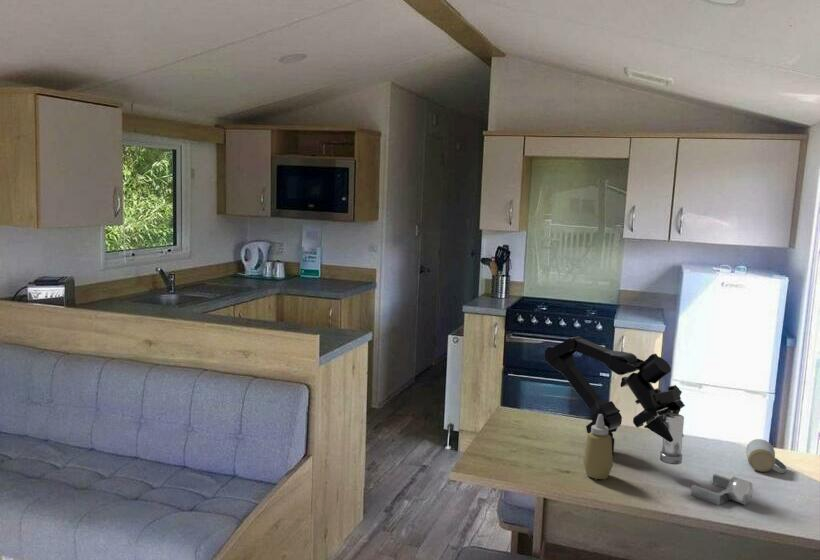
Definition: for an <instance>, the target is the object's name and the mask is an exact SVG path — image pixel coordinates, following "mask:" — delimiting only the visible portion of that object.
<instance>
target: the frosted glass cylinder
mask: <svg viewBox="0 0 820 560" xmlns="http://www.w3.org/2000/svg"><path fill="white" fill-rule="evenodd" d="M663 419H664V424H665V426H666V428H667V429H668V431H669V433H670V434H671V436H672V438H673V441H672V442H669V441H667V440H666V439H664V438H663V437H662V440H661V450H660V452H659V460H660V461H661V462H662V463H665V464H668V465H674V466H675V465H681V464H682V462H683V453H682V448H683V438H684V436H683V435H684V423H685V416H683V415H682V414H680V413H679V414H675V413H666V414H664V418H663Z"/></svg>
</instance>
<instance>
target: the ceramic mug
mask: <svg viewBox="0 0 820 560" xmlns="http://www.w3.org/2000/svg"><path fill="white" fill-rule="evenodd" d="M745 449H746V450H745V453H746V459H747V462H748V464H749V466H750V468H752V469H753V470H754V471H757V472H761V473H766V472H768V471H770V470H773V471H775V472H778V473H779V474H784V473H785V472H786V471H787V469H788V468H787V466H786V465H785V464H784V463H783V462H782V461H781V460H779V459H778V458H777V457H776V452H775V451H776V450H775V449H774V446H773V445H772V444H771V443H770V442H769V441H768V440H765V439H761V438H756V439H753V440H751V441H749V442H748V444H747V445H746V448H745Z"/></svg>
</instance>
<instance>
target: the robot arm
mask: <svg viewBox="0 0 820 560" xmlns="http://www.w3.org/2000/svg"><path fill="white" fill-rule="evenodd" d="M575 353H580V354H581V355H583V356H585V357H586V356H587V357H589V358H591V359H593V360H596V361H598V362H600V363H602V364H604V365H605V366H606V368H608V369H609V370H610V371H612V372H613V373H615V374H617V375H619V376H622V375H623V377H621V382H620V385H619V386H620V387H621V388H623V387H627V386H628V388H629V390H630V391H631V392H632V394H633V396H634V397H635V399H636V400H635V401H634V402H635V404H636V405H639V404H640V405H641V407H642V408H643V410H642V411H641V412H639V413H638V414H637V415H635V416H634V417H633V419H632V423H633V424H634V426H635V427H636V428H637V429H638V428H640V427H643V428H644V429H647V430H649V431H651V432H653V433H655V434H656V435H658V436H659V437H661V438H662V439H663V438H664V439H666V440H667V441H669V442H672V441H673V438H672V436H671V434H670V433H669V431H668V429H667V428H666V426H665V424H664V414H666V413H675V414H679V415H680V412H681V410H682V408H684V407H686V405H685V403H684V402H683V401H682V397H681V394H682V393H683V392H682V390H680V388H679V387H678V386H677V384H674V385H671V386H668V387H667V390H666V391H662V390H661V389H660V388H658V387H657V388H654V386H653V384H657V383H658V382H660V381H661V380H662V379H663V378H664V377H666V376H668V375H669V374H670V373H671V371H672V370H671V369H672V368H671V366H670V364H669V362H668V361H667V360H665V359H664V358H663V357H660V356H658V354H657V353H652V354H651V355H649V356H648V358H647V359H645V360H642V359H640V358H638V356H636V355H635V354H633V353H631V352H626V351H619V350H611V349H609V348H607V347H605V346H601V345H599V344H597V343H594V342H592V341H590V340H587V339H585V338H583V337H582V336H578V335H577V336H572V337H569V338H568V339H566V340H564V341H563V342H560V343H557V345H552V346H549V347H547V348H546V349H545V350H544V357H543V358H544V360H545V361H546V363H547V364H549V365H550V367H551V368H553V369H554V370H556V371H558V372H559V373H561V375H562V376H564V378H565V379H566V381H567V382H568V383H569V384H570V385H571V387H572V388H573V390H574V391H575V392H576V394H578V395H577V396H579V397H580V399H581V400H582V401H583V403H584V404H585V405H586V407H587V408H588V410H589V415H590V419H591V422H590V423H588V424H587V425H586V426H585V427H586V432H587V434H589V433H590V432H591V426H592V425H596V421H597V418H598V415H599V414H602V415H603V419H604V425H605V426H607V427H608V429H609V430H608V434H609V435H610V436H611V439H612V456H614V450H615V438H614V432H617V430H618V428H619V427H621V424H622V419H623V417H622V415H621V413H620V412H621V410H620V409H619V408H618V407H617V406H616V405H615V403H614V402H613V401H612V400H610V401H605V400H603V399H602V397H600V395H599V394H598V392H597V391H596V390H595V389H594V387H593V386H592V384H591V383H590V382H589V381H588V380H587V378H586V377H585V376H584V375H583V373H582V372H581V370H580V369H579V368H578V367H577V365H576V364H575V357H574V354H575ZM637 371H638V372H637ZM626 374H629V375H628V376H624V375H626ZM644 424H645V425H644ZM684 436H685V435H684V434H683V437H684Z"/></svg>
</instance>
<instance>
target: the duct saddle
mask: <svg viewBox="0 0 820 560" xmlns="http://www.w3.org/2000/svg"><path fill="white" fill-rule="evenodd" d="M712 484H713V485H715V486H718V487H721V488H724V489H723V490H722V491H719V492H715V491H712V490H710V489H706V488H704V487H702V486H698V485H695V484H693V485H691V487H690V488H691V489H690V495H691V496H693V497H695V498H698V499H701V500H703V501H706V502H709V503H711V504H714V505H717V506H721V505H722V504H725V503H726V502H728V501H730V500H731V501H733V502H735V503H738V504H742V505H744V506H746V505H747V504H748V503H750V501H751V499H752V495H753V491H754V490H753V489H754V488H753V486H754V485H753V483H752V482H751V481H749V480H746V479H743V478H740V477H736V476H732V477H731V478H728V477H725V476H723V475H719V474H716V473H715V474H713V475H712Z"/></svg>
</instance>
